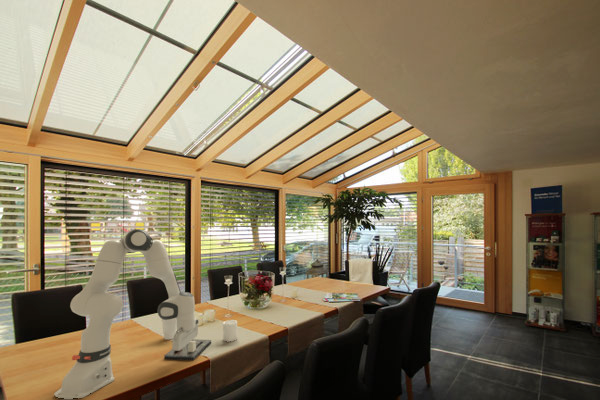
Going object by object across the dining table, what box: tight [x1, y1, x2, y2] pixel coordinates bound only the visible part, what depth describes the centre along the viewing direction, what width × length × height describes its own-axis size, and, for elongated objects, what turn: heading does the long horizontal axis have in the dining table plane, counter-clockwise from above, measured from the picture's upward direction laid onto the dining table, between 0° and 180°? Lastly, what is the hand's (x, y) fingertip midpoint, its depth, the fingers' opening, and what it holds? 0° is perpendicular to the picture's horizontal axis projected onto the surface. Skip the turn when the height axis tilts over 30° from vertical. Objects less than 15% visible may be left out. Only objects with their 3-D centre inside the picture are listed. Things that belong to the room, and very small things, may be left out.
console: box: [163, 338, 212, 361], centre depth 169 cm, size 22×16×2 cm
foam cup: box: [161, 318, 177, 341], centre depth 190 cm, size 10×9×13 cm
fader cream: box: [187, 341, 196, 353], centre depth 163 cm, size 4×3×5 cm
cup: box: [222, 319, 238, 343], centre depth 187 cm, size 8×12×10 cm
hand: (185, 352), depth 157 cm, fingers closed
